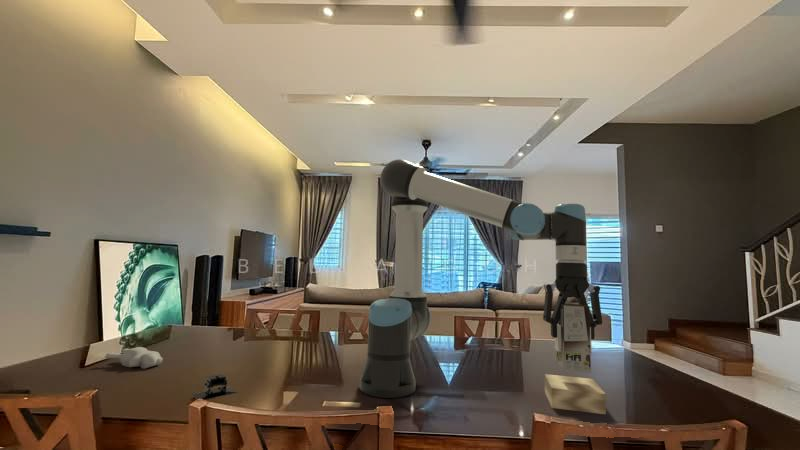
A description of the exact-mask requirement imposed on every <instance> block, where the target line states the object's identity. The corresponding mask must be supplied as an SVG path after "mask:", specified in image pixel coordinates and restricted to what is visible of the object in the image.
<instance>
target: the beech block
mask: <svg viewBox="0 0 800 450" xmlns="http://www.w3.org/2000/svg"><path fill="white" fill-rule="evenodd" d="M544 393H545V395H546V398H547V400H548V402H549V405H550V407H551V408H552V409H556V410H558V409H559V410H565V411H567V410H568V411H574V412H575V411H576V412H582V413H593V414H599V415H607V396H606V395H607V394H606V392H605V391H604V390H603V389H602V388H601V387H600V386H599V385H598V383H597V382H596V381H595V380H594V379H593V378H588V377H587V378H586V377H578V376H576V377H575V376H568V375H567V376H566V375H558V374H557V375H556V374H549V373H548V374H547V373H545V374H544Z"/></svg>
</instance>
